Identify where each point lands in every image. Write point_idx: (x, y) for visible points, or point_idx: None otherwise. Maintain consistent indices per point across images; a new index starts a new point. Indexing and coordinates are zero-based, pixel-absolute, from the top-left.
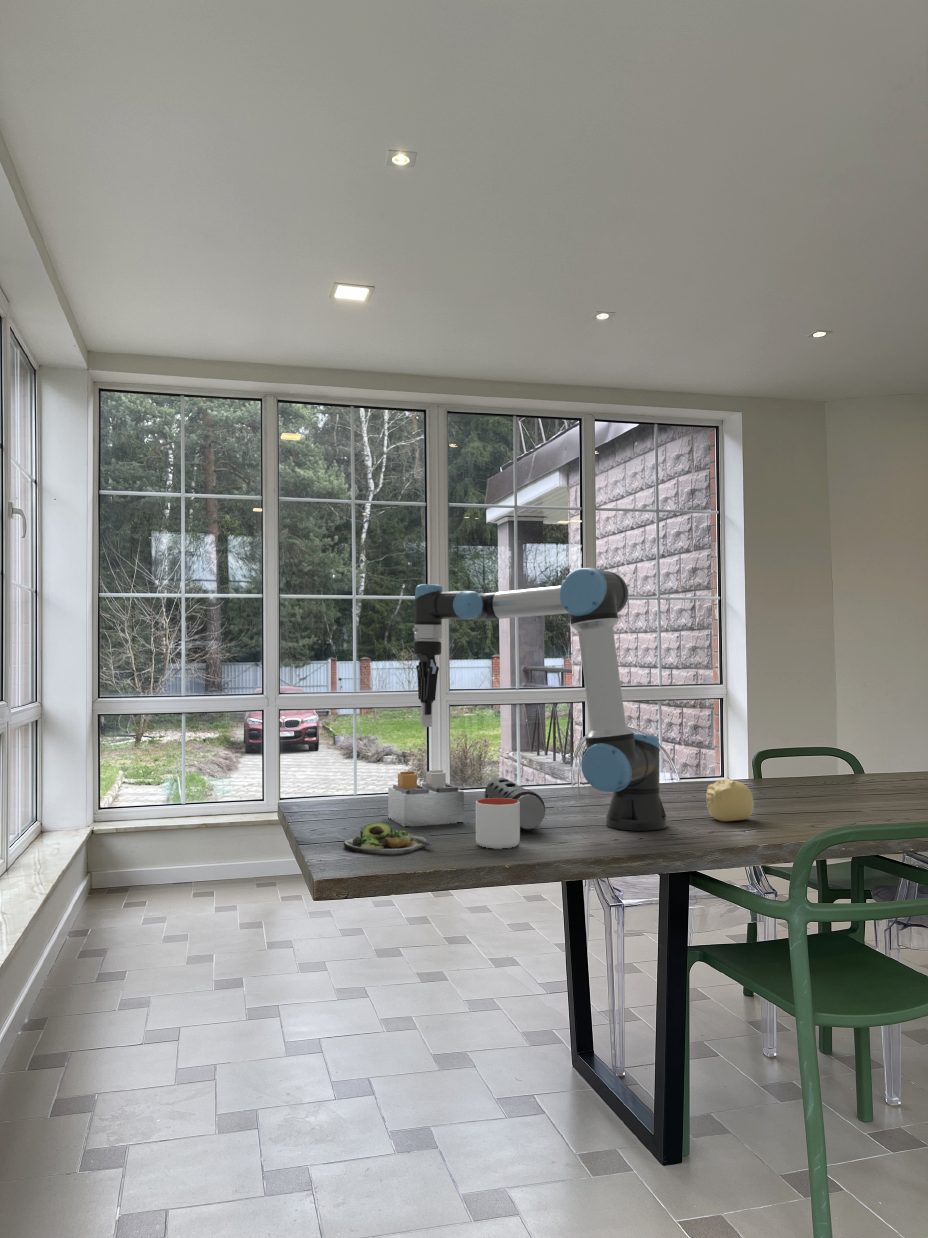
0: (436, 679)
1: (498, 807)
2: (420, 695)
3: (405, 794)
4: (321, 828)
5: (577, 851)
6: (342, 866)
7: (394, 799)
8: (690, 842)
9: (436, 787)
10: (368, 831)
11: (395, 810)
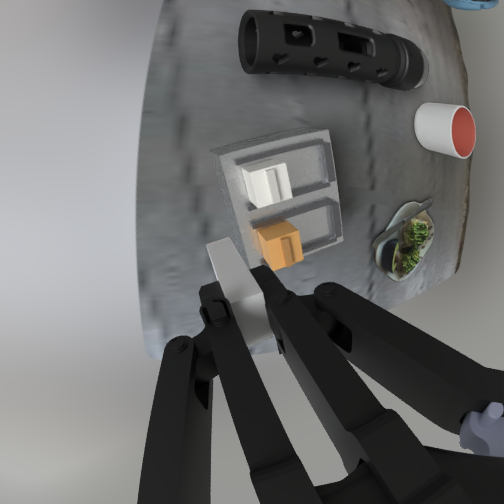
0: (454, 353)
1: (473, 139)
2: (210, 385)
3: (340, 239)
4: None
5: (446, 65)
6: (439, 268)
7: None
8: None
9: None
10: (394, 265)
11: None
